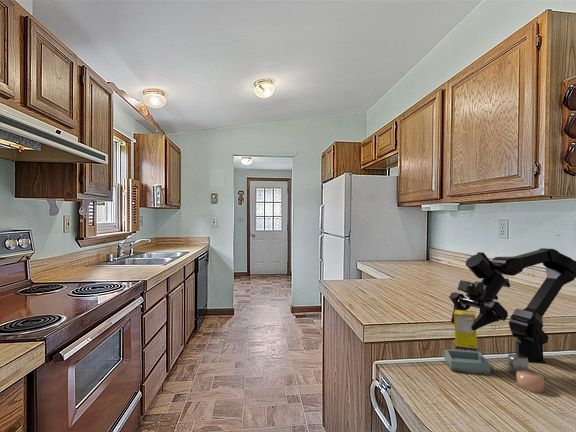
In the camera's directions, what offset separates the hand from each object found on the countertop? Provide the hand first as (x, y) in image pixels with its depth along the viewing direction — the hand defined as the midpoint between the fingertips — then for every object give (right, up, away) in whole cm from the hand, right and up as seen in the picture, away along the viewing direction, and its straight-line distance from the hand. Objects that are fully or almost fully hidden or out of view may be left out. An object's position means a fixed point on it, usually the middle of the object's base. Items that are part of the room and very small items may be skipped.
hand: (461, 325), depth 105 cm
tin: (+15, -12, -5) cm, 20 cm away
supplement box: (+1, -7, 0) cm, 7 cm away
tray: (+1, -13, 0) cm, 13 cm away
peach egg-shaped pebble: (+11, -12, -15) cm, 22 cm away
